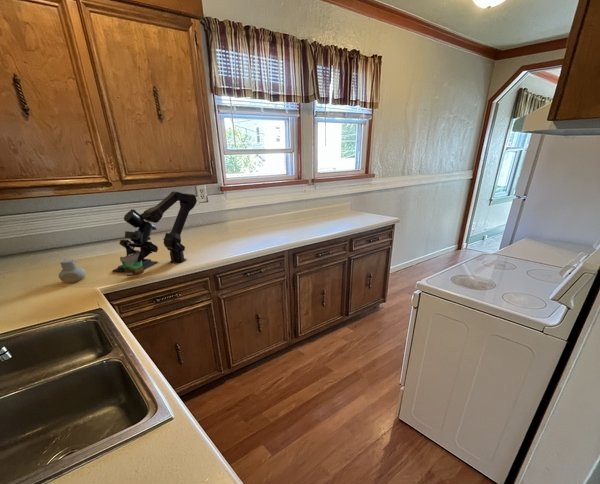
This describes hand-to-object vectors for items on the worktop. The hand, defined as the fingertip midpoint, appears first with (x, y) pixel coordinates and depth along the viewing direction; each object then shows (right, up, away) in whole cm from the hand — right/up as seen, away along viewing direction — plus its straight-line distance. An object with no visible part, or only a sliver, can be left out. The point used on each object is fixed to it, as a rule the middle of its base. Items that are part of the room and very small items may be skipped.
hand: (132, 261), depth 158 cm
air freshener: (-29, -10, 0) cm, 30 cm away
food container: (+1, -5, +4) cm, 7 cm away
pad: (-7, 0, +18) cm, 19 cm away
